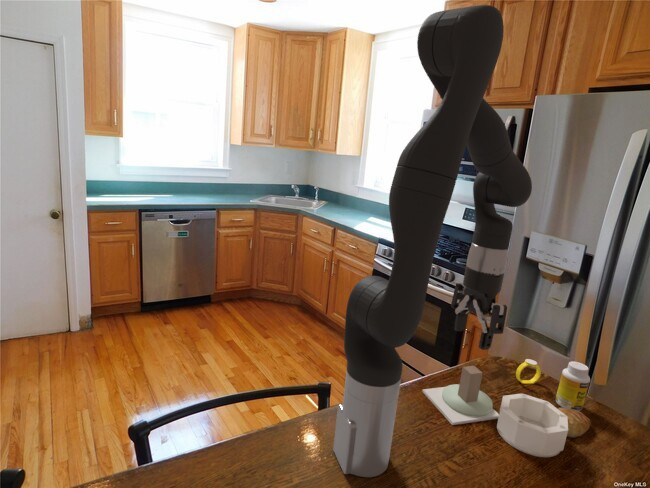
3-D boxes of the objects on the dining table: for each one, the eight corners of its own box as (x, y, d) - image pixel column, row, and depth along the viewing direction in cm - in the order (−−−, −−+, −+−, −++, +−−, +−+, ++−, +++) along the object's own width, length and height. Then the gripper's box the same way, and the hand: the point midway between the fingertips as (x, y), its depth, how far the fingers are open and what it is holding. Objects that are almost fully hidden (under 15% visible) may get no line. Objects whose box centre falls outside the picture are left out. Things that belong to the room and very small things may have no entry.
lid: (460, 419, 89) (466, 385, 87) (432, 389, 99) (437, 359, 97) (502, 413, 92) (509, 381, 91) (472, 385, 102) (477, 355, 100)
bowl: (526, 461, 79) (532, 436, 78) (484, 420, 90) (489, 397, 89) (575, 452, 83) (582, 427, 82) (530, 413, 94) (535, 391, 93)
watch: (532, 380, 109) (539, 359, 108) (539, 386, 106) (546, 365, 105) (511, 379, 108) (517, 357, 106) (518, 385, 105) (524, 363, 104)
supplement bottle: (574, 415, 95) (585, 374, 93) (550, 402, 99) (559, 362, 97) (586, 408, 98) (597, 368, 96) (562, 395, 103) (572, 357, 100)
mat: (452, 425, 88) (452, 422, 88) (422, 391, 99) (422, 389, 99) (500, 418, 92) (500, 415, 91) (466, 386, 103) (466, 384, 102)
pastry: (569, 413, 96) (573, 398, 95) (598, 433, 90) (603, 417, 89) (540, 421, 92) (544, 406, 91) (568, 442, 86) (573, 426, 85)
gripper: (450, 256, 93) (437, 325, 97) (493, 278, 80) (477, 356, 84) (478, 257, 95) (465, 324, 99) (525, 278, 82) (508, 354, 86)
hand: (470, 339), depth 91 cm, fingers open, 8 cm apart
